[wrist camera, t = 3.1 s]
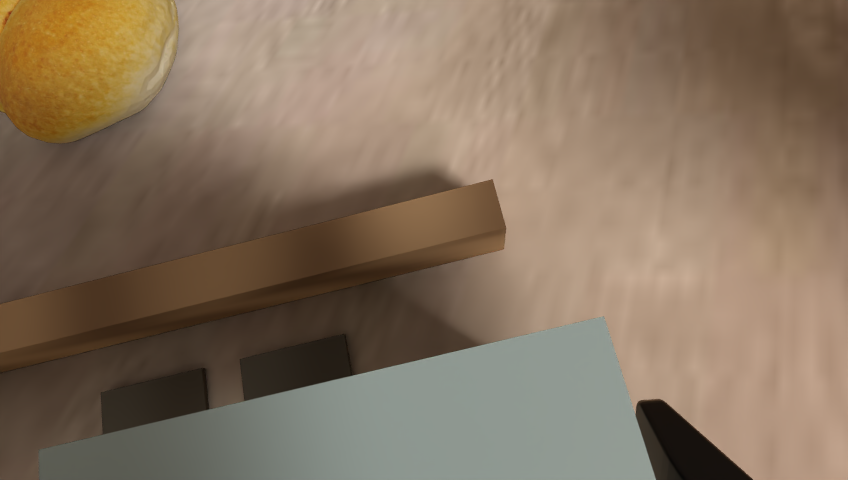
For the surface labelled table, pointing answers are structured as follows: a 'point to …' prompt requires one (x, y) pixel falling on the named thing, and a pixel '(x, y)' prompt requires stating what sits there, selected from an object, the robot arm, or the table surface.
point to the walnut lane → (247, 297)
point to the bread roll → (82, 62)
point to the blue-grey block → (403, 423)
